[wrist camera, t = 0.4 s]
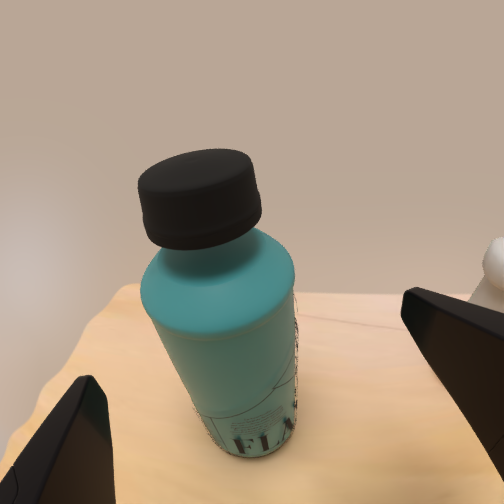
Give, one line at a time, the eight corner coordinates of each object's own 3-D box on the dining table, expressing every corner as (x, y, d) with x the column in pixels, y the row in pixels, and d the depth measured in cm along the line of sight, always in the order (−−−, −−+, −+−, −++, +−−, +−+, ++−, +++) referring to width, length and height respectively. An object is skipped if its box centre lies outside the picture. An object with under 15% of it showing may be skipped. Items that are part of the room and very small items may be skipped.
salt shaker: (461, 334, 25) (508, 219, 17) (492, 374, 20) (559, 262, 13) (418, 356, 24) (465, 234, 17) (450, 403, 19) (525, 287, 12)
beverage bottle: (237, 480, 18) (105, 243, 6) (197, 414, 22) (90, 169, 11) (313, 436, 20) (343, 161, 8) (266, 378, 25) (234, 126, 13)
